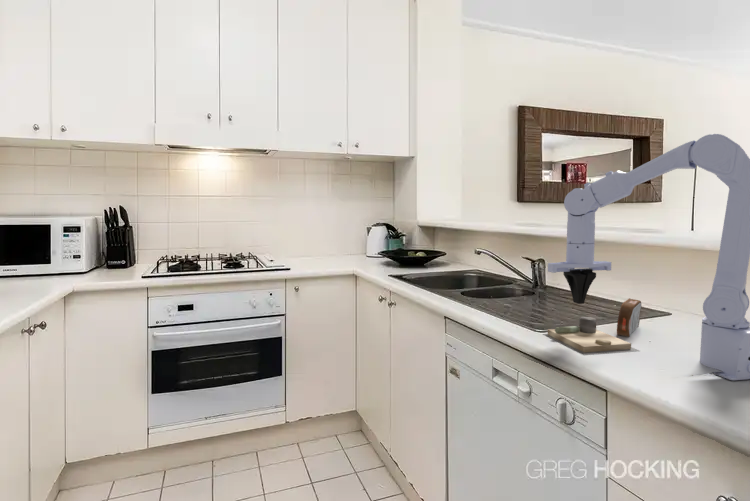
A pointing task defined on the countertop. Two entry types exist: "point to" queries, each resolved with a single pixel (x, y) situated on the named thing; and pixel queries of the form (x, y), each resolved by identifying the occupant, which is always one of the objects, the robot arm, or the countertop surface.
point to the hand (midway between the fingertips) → (578, 302)
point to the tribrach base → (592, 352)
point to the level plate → (588, 337)
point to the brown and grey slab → (628, 317)
